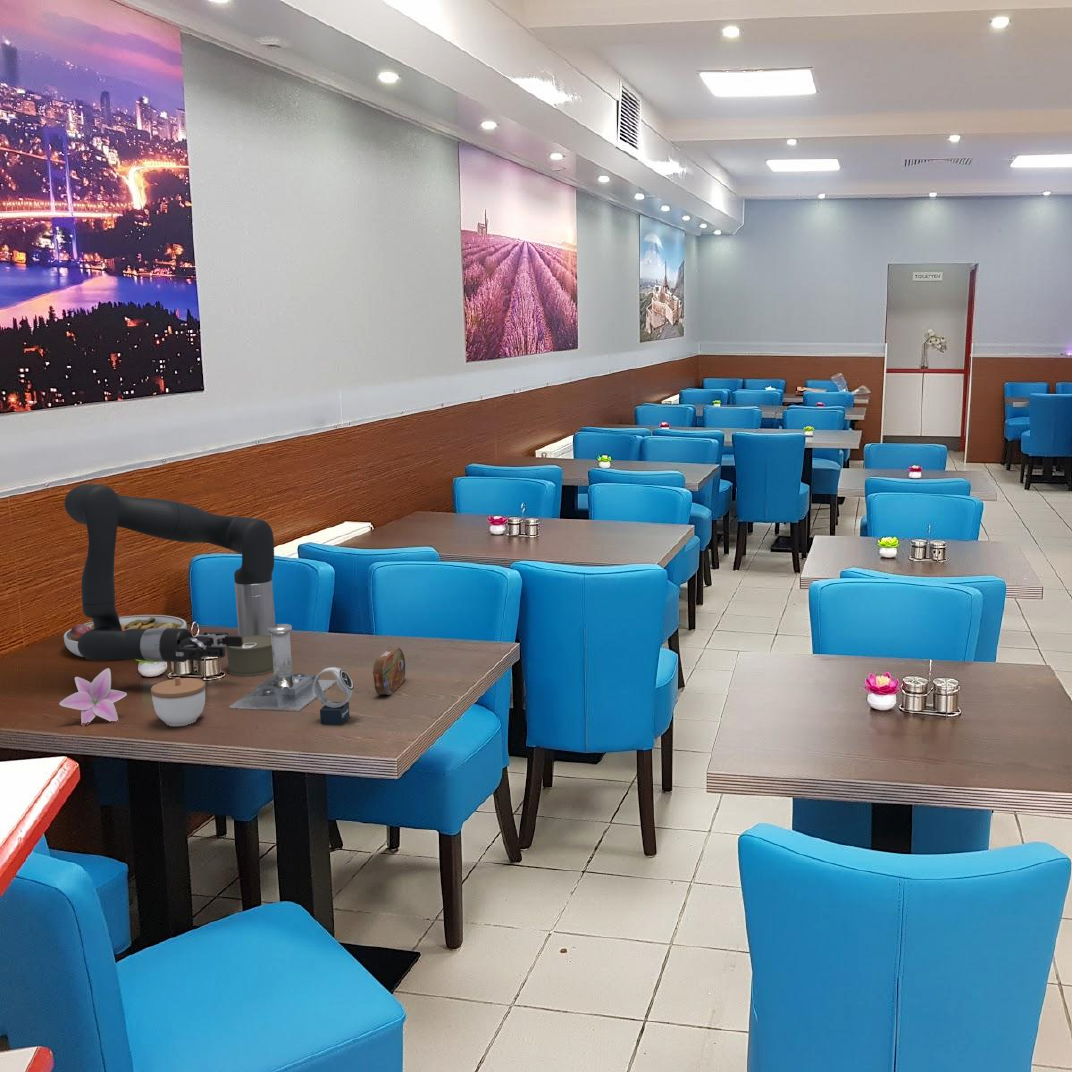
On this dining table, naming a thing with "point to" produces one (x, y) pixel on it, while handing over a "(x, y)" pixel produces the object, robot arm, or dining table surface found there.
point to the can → (251, 656)
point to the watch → (334, 710)
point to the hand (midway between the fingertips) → (233, 646)
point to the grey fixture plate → (282, 694)
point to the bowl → (124, 627)
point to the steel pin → (281, 654)
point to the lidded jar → (179, 700)
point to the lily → (95, 698)
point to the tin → (389, 671)
